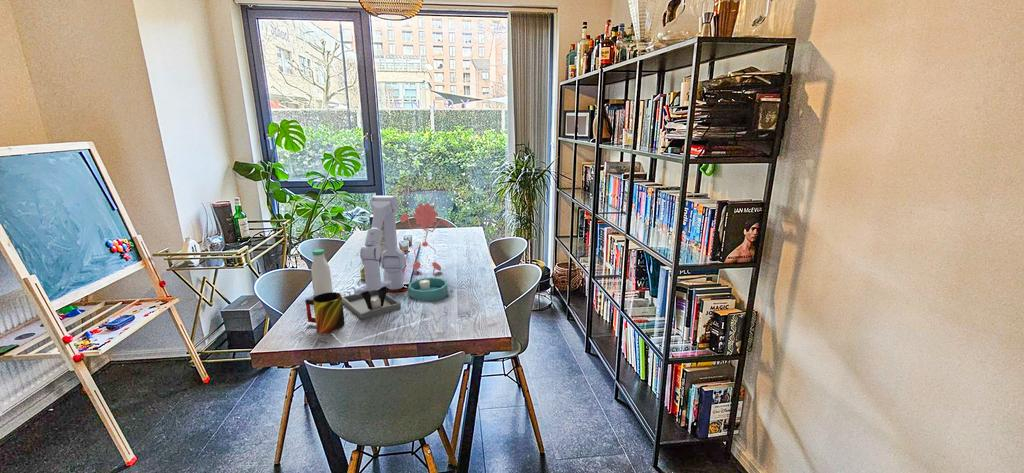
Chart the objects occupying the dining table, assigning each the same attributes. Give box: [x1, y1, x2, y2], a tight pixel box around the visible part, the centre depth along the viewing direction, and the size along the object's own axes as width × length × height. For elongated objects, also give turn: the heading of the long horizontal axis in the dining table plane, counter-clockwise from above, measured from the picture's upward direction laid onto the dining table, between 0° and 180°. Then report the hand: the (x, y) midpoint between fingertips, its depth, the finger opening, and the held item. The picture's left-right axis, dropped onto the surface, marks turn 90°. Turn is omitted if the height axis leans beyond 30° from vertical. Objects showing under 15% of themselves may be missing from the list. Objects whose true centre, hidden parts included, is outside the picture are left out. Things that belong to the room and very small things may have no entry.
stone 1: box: [371, 298, 381, 311], centre depth 175 cm, size 4×4×4 cm
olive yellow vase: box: [359, 266, 365, 281], centre depth 211 cm, size 7×7×10 cm
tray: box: [342, 290, 402, 321], centre depth 179 cm, size 22×16×3 cm
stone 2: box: [420, 280, 430, 291], centre depth 194 cm, size 4×4×4 cm
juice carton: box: [368, 212, 386, 260], centre depth 245 cm, size 12×8×24 cm, turn 10°
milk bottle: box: [310, 248, 334, 297], centre depth 191 cm, size 8×8×20 cm
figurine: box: [399, 202, 451, 276], centre depth 219 cm, size 15×26×35 cm, turn 82°
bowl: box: [407, 277, 449, 302], centre depth 192 cm, size 17×17×4 cm
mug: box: [305, 291, 345, 335], centre depth 160 cm, size 10×14×12 cm
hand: (375, 307), depth 175 cm, fingers closed on stone 1, 4 cm apart
